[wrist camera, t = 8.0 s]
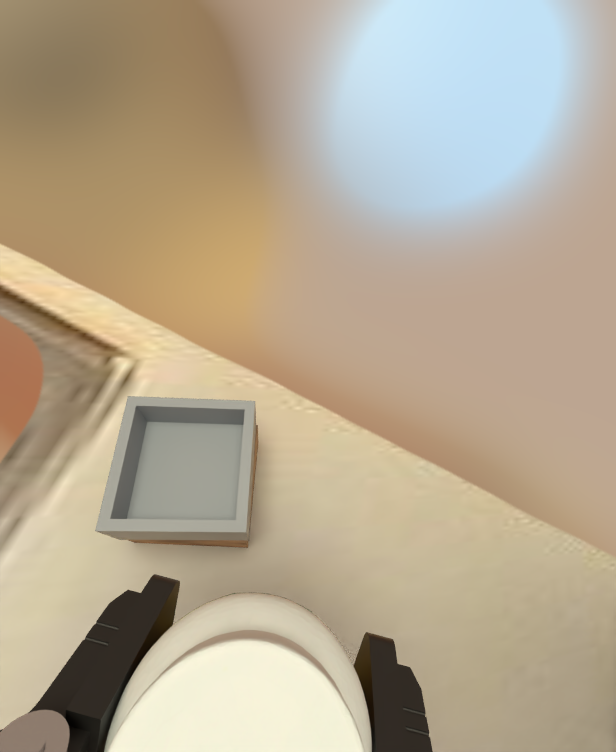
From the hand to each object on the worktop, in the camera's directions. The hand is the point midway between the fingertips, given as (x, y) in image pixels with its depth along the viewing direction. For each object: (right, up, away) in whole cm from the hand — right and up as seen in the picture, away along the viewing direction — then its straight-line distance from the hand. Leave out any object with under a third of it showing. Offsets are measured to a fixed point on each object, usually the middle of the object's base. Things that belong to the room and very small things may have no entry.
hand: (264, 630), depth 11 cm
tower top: (-8, -1, +19) cm, 21 cm away
